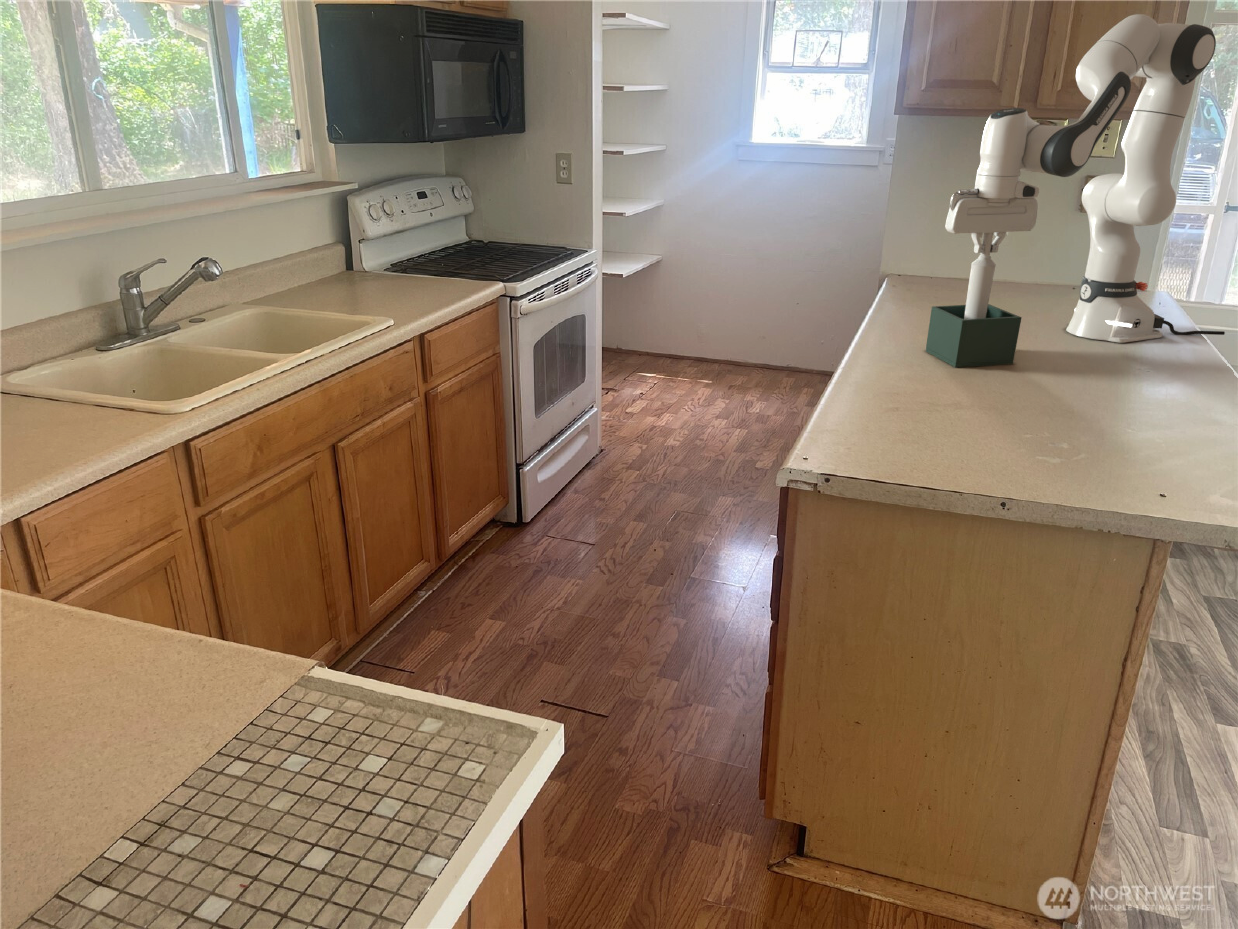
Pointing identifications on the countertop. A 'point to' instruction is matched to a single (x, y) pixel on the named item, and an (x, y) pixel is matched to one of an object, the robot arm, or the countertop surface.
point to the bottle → (980, 282)
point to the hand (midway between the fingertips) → (985, 252)
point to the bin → (972, 336)
